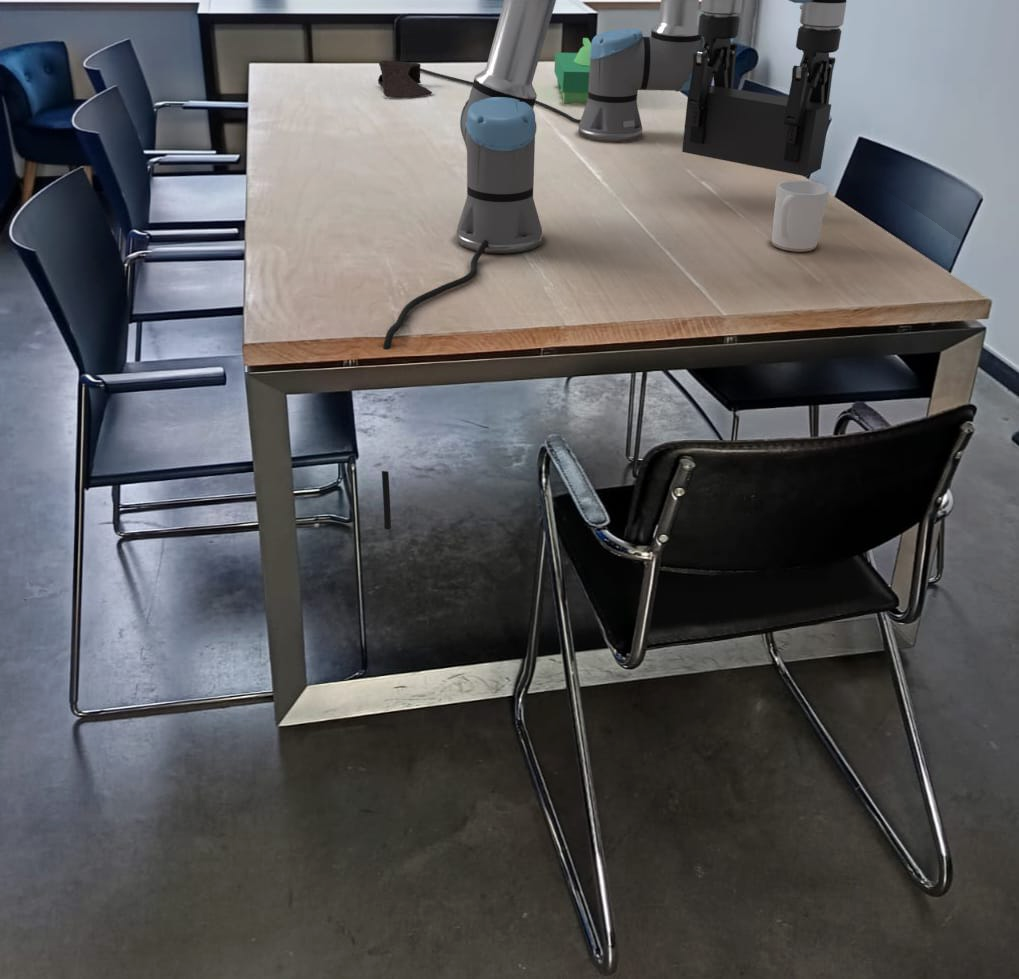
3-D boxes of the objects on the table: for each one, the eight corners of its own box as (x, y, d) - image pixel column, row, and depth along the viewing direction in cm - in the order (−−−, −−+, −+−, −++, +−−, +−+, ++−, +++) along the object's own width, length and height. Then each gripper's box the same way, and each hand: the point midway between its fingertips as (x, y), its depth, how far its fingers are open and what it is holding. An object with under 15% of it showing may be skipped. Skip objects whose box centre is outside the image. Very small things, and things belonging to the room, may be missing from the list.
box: (820, 169, 209) (831, 104, 203) (805, 176, 204) (816, 110, 198) (698, 145, 222) (705, 84, 216) (682, 152, 217) (688, 89, 211)
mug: (783, 233, 202) (791, 177, 197) (827, 243, 197) (837, 187, 192) (754, 247, 195) (762, 190, 189) (799, 259, 190) (809, 200, 185)
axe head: (443, 87, 294) (392, 77, 287) (436, 115, 299) (385, 106, 292) (421, 62, 307) (371, 52, 300) (414, 89, 311) (365, 80, 304)
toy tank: (615, 34, 312) (632, 57, 283) (611, 79, 319) (628, 107, 289) (553, 33, 311) (564, 56, 282) (551, 78, 318) (562, 105, 288)
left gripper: (823, 17, 203) (803, 143, 215) (776, 30, 190) (758, 163, 202) (861, 22, 200) (839, 150, 212) (817, 35, 186) (796, 171, 198)
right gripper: (726, 6, 213) (712, 126, 226) (676, 17, 200) (664, 145, 212) (761, 10, 210) (745, 132, 222) (712, 22, 196) (698, 152, 208)
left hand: (799, 156), depth 207 cm, fingers closed on box, 7 cm apart
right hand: (706, 138), depth 217 cm, fingers closed on box, 7 cm apart
